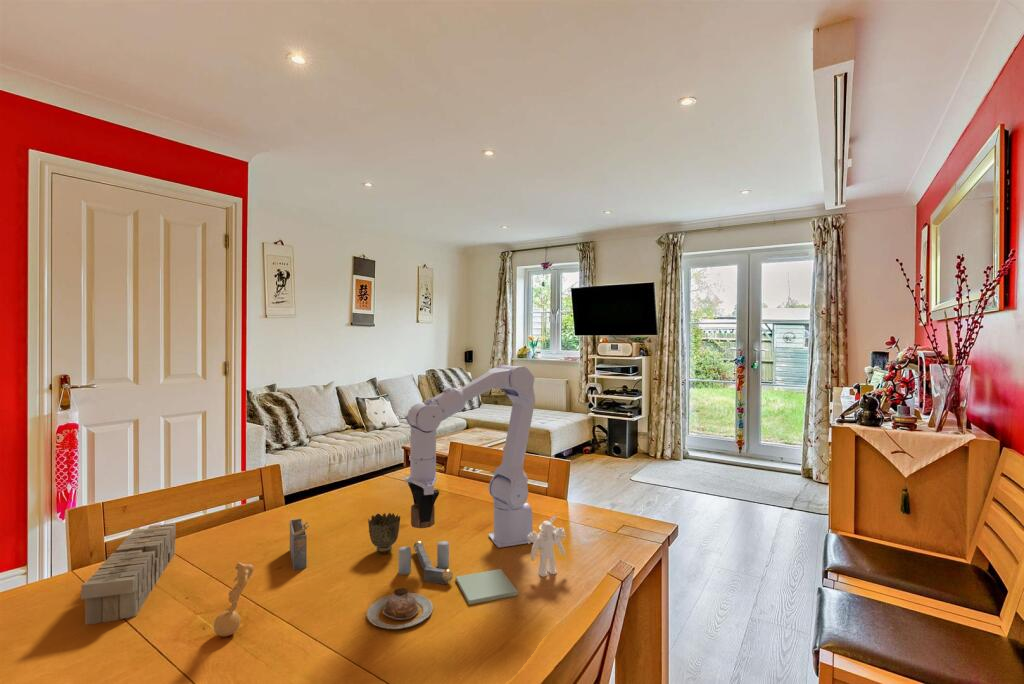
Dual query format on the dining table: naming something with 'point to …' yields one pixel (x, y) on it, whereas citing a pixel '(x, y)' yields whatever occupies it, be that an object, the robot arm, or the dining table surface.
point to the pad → (485, 586)
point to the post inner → (443, 554)
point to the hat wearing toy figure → (546, 545)
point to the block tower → (128, 574)
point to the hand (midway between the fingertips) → (422, 517)
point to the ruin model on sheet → (298, 543)
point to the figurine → (233, 603)
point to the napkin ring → (416, 520)
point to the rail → (431, 567)
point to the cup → (384, 531)
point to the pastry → (400, 608)
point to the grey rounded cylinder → (404, 560)
